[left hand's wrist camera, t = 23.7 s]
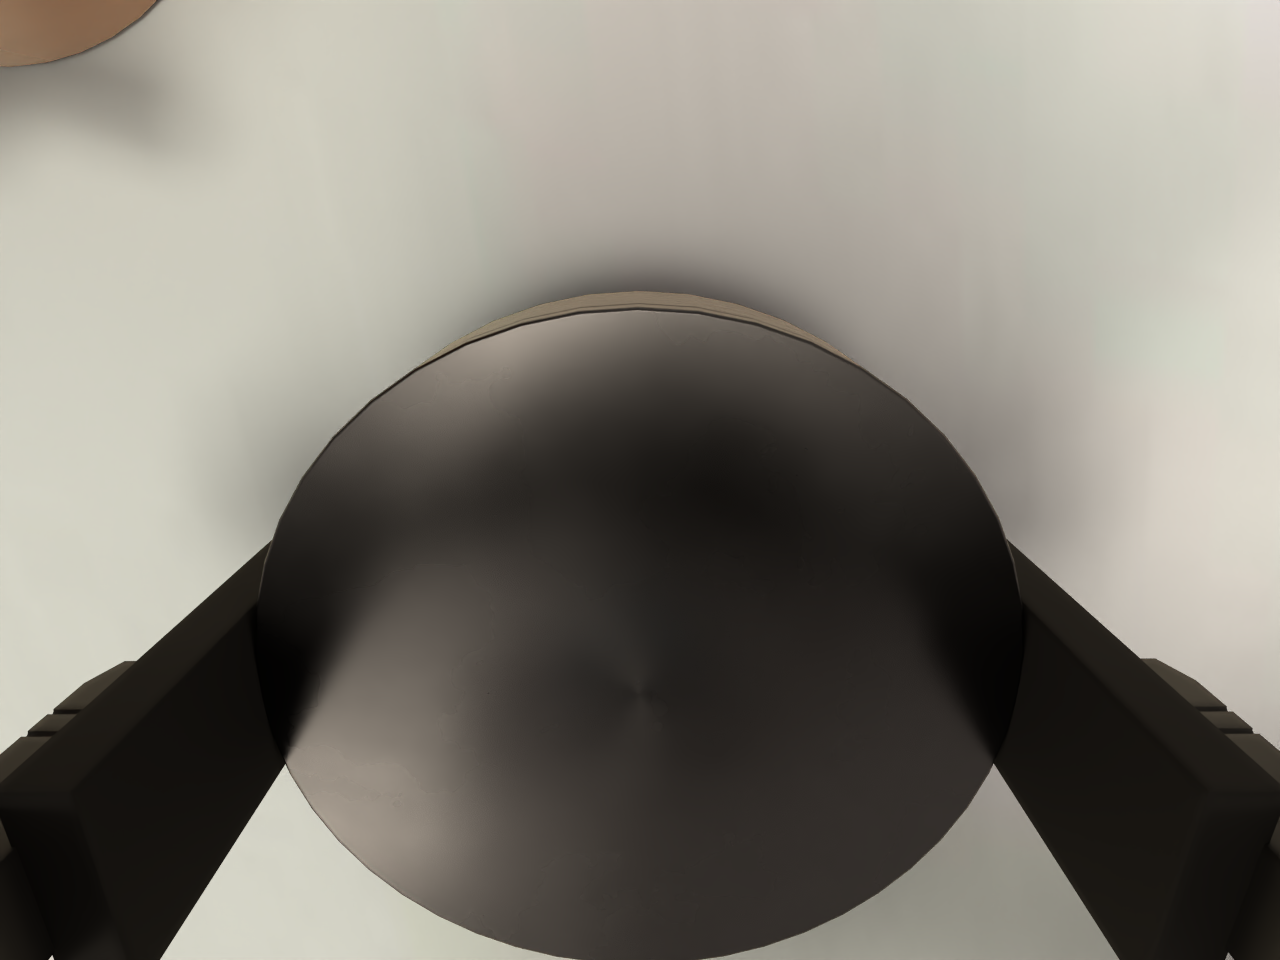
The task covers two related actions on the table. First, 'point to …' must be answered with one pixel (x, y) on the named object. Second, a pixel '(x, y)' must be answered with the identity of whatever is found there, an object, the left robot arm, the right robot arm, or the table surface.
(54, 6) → the jar
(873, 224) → the table surface
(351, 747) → the lid
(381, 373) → the table surface
